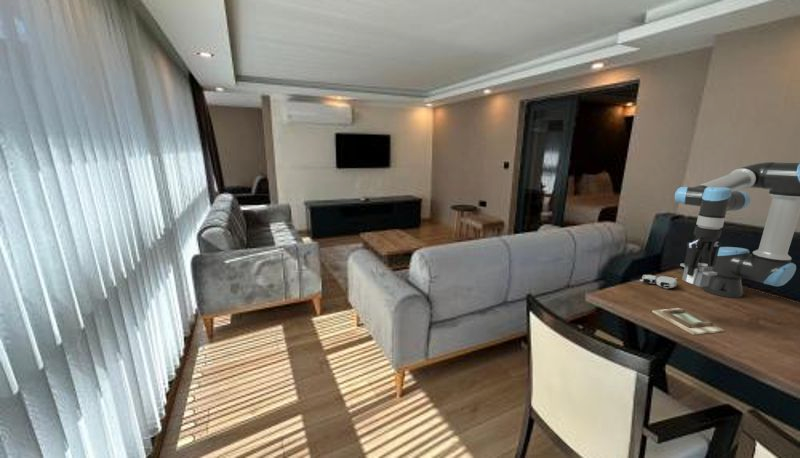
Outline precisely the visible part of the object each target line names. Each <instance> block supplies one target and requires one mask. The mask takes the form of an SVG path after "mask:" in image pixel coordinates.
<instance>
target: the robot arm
mask: <svg viewBox="0 0 800 458" xmlns="http://www.w3.org/2000/svg"><path fill="white" fill-rule="evenodd" d="M749 188H753V189H764V190H766V189H767V190H769V191H768V195H769V196H770V197H771V198H772V199H771V203H770V206H769V210H768V214H767V217H766V221H765V224H764V229H763V231H762V235H761V239H760V243H759V246H758V249H755V250H753V251H752V253H750V250H749V249H748V248H743V247H736V246H735V247H733V246H722V245H723V243H722V242H720V241H717V240H718V239H720V237H721V234H722V231H723V230H722V228H723V227H724V224H725V223H724V222H725V219H726V215H727V212H731V211H732V212H733V211H734V212H735V211H739V210H743V209H745V208H747V207H748V206H749V205H750V204H751V197H750V195H749V194H748V193H747V192H745V191H741V190H746V189H749ZM674 201H675V202H676V203H677V204H681V205H685V206H694V207H699V211H698V216H697V220H696V225H695V228H694V231H693V235H694V236H695V238H694V239H693V241H692V242H689V241H688V242H686V253H685V258H684V265H685V266H688V272H687V279H686V281H685V282H687V283H689V284H691V285H694V283H695V278H696V274H697V270H698V269H697V268H696V267H697V265H698V263H700V260H701V263H706V264H708V266H710V267H713V269H712V271H714V272H716V273H717V275H713V276H710V280H709V284H708V286H703V287H700V288H701V290H703V291H705V292H708V293H710V294H712V295H717V296H720V297H723V298H731V299H738V298H742V297H743V294H744V289H743V285H742V278H744V279H747V280H751V281H755V282H758V283H762V284H763V285H769V286H773V287H781V286H785V284H787V283H788V282H789V281H790V280H791V279H792V278H793V276H794V275H795V273H796V271H797V265H796V264H795V263H793V262H791V261H792V257H791V256H790V255H789V249H790V246H791V243H792V240H793V237H794V233H795V229H796V227H797V224H798V220H799V216H800V162H770V161H767V162H766V161H765V162H759V163H754V164H749V165H744V166H742V167H739V168H737V169H734V170H732V171H731V172H730V173H729V174H726V175H723V176H721V177H719V178H718V177H717V178H716V179H713V180H709V181H708V182H704V183H701V184H699V185H696V186H692V187H691V186H681V187H678V188H677V190H676V191H675V193H674Z"/></svg>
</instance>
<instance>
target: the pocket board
mask: <svg viewBox="0 0 800 458" xmlns="http://www.w3.org/2000/svg"><path fill="white" fill-rule="evenodd" d="M652 313H653V314H655V315H656V316H658V317H660V318H662V319H664V320H666V321H667V322H670V323H672V324H673V325H675V326H676V327H679V328H681V329H682V330H684V331H686V332H687V333H689V334H691V335H692V336H693V335H694V336H695V335H704V334H714V333H715V334H717V333H724V332H725V329H723V328H721V327H719V326H716V324H714V322H713V321H711V320H709V319H708V318H705V317H703V316H701V315H699V314H697V313H695V312H693V311H690V310H689V309H686V308H681V307H677V308H665V309H653V310H652Z"/></svg>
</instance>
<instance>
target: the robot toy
mask: <svg viewBox="0 0 800 458" xmlns="http://www.w3.org/2000/svg"><path fill="white" fill-rule="evenodd" d="M677 280H678V278H677V277H670V276H665V275H661V276H658V277H657V276H656V275H652V274H643V275H642V276H641V277H640V279H639V282H643V283H644V284H648V283H649V284H651V285H652V284H653V285H655V284H656V285H657V286H659V287H662V288H663V289H666V290H667V289H672V288H675V287H676V286H677V285H678V281H677Z"/></svg>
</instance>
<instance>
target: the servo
mask: <svg viewBox="0 0 800 458" xmlns="http://www.w3.org/2000/svg"><path fill="white" fill-rule="evenodd" d="M684 263H685V262H684ZM684 263H680V265H679V266H680V267H683V268H684V269H683V273H682V278H681V280H682V281H684V282H686V279H687V272H688V266H685V265H684ZM696 268H697V269H698V270H697V274H696V278H695V283H694V284H693V285H694V286H696V287H699V288H701V287H703V286H708V284H709V280H710V276H713V275H717V273H716V272H714V271H712V269H713V267H710V266H708V264H706V263H702V262H698V265H697V267H696Z"/></svg>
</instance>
